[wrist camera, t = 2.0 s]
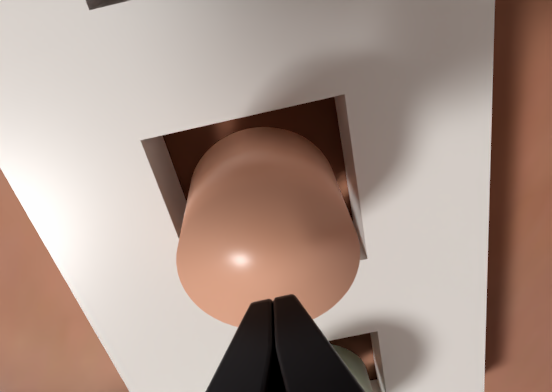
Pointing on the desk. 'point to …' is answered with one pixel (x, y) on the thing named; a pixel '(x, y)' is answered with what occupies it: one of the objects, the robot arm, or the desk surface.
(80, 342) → the desk surface
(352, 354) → the sage button
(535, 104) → the desk surface
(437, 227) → the button console
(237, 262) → the terracotta button
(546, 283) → the desk surface
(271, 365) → the robot arm
